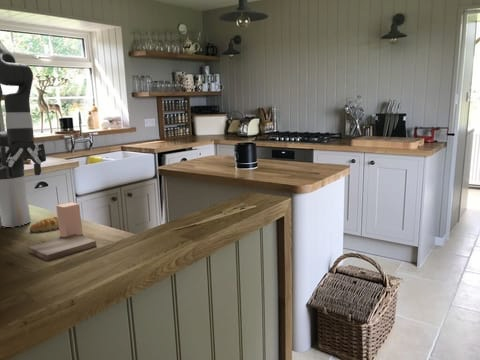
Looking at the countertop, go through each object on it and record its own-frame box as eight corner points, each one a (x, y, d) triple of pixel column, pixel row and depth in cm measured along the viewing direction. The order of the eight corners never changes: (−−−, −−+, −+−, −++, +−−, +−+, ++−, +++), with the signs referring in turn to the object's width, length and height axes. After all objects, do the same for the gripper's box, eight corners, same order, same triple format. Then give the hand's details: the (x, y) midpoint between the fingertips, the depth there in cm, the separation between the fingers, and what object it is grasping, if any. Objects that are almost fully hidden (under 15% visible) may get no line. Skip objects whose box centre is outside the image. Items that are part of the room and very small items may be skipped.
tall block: (60, 236, 129) (56, 205, 127) (75, 232, 133) (71, 202, 131) (67, 238, 126) (63, 207, 124) (82, 234, 130) (79, 204, 128)
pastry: (32, 234, 133) (31, 223, 132) (28, 230, 138) (26, 220, 137) (62, 228, 138) (61, 217, 138) (57, 225, 144) (55, 214, 143)
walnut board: (29, 251, 115) (28, 246, 115) (76, 238, 125) (75, 234, 125) (47, 260, 107) (46, 255, 107) (96, 245, 117) (95, 240, 117)
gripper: (34, 126, 138) (39, 173, 141) (-10, 127, 127) (-4, 179, 129) (47, 126, 134) (51, 174, 137) (2, 127, 123) (8, 180, 125)
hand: (24, 176), depth 133 cm, fingers open, 8 cm apart
